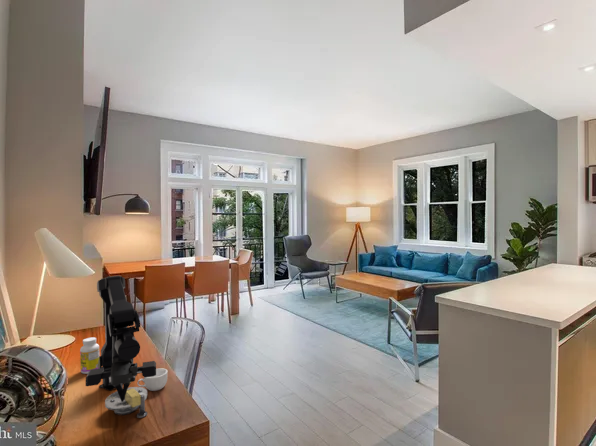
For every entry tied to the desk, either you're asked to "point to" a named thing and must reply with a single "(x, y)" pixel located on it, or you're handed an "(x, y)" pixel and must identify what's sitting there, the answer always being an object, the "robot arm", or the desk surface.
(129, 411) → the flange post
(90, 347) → the supplement bottle
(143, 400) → the flanged pin
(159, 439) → the desk surface
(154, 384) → the teacup
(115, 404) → the flange plate
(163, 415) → the desk surface
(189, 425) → the desk surface
